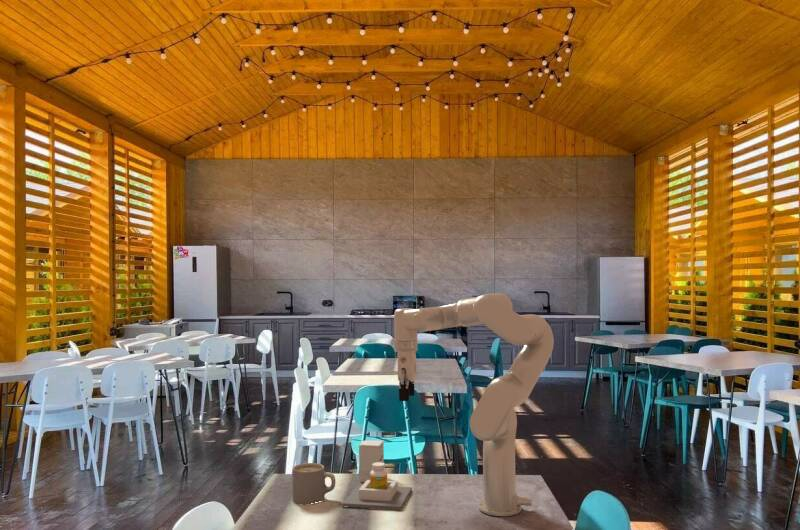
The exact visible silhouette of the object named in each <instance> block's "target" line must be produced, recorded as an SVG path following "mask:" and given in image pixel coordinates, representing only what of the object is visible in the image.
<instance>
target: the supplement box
mask: <svg viewBox="0 0 800 530" xmlns="http://www.w3.org/2000/svg"><path fill="white" fill-rule="evenodd" d="M384 449H385V448H384V441H383V440H367V439H366V440H363V441H362V442H361V443H360V444H358V470H359V471H358V474H359V475H358V476H359V478H358V480H359V481H358V482H359V483H365V482H366V480H370V472H371V471H372V470H373V469H372V464H373V463H376V462H381V463H384V464H385V461H384V460H385V456H384V455H385V453H384V452H385V451H384Z"/></svg>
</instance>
